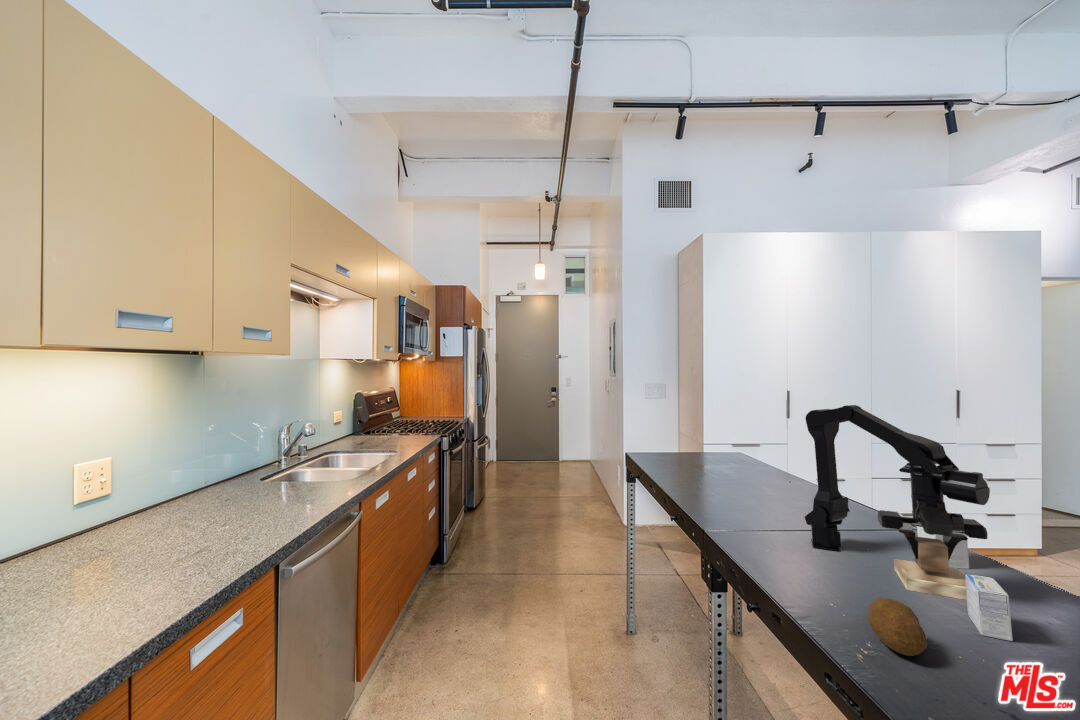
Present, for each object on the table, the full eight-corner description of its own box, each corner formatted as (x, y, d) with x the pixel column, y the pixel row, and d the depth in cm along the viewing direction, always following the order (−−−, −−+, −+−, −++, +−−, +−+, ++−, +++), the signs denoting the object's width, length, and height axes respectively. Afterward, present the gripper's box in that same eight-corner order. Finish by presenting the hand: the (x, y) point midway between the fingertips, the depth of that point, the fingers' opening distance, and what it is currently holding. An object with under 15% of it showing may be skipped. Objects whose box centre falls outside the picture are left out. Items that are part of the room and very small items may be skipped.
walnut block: (920, 569, 101) (919, 543, 101) (914, 561, 105) (913, 536, 106) (949, 573, 99) (947, 547, 99) (941, 564, 103) (940, 539, 103)
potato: (892, 664, 75) (889, 618, 75) (854, 624, 87) (851, 584, 87) (946, 668, 73) (943, 622, 74) (899, 627, 85) (897, 587, 86)
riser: (906, 589, 100) (906, 577, 100) (894, 568, 110) (893, 558, 110) (977, 601, 94) (976, 588, 94) (957, 578, 104) (956, 566, 104)
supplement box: (970, 569, 109) (967, 518, 109) (936, 567, 110) (933, 517, 111) (949, 557, 116) (946, 509, 116) (917, 555, 117) (914, 508, 118)
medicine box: (1013, 642, 80) (1010, 595, 80) (980, 635, 82) (976, 589, 82) (997, 621, 86) (994, 577, 87) (967, 615, 89) (964, 572, 89)
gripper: (885, 498, 100) (889, 566, 100) (996, 508, 91) (1001, 583, 91) (875, 487, 110) (878, 549, 109) (974, 495, 101) (979, 562, 100)
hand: (930, 560), depth 102 cm, fingers closed on walnut block, 5 cm apart
